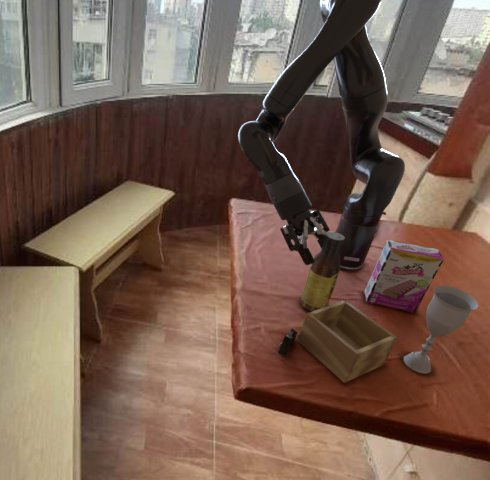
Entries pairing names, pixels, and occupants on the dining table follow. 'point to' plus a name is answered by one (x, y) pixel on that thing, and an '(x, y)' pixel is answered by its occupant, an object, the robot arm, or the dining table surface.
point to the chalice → (441, 322)
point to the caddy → (345, 340)
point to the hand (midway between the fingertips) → (319, 257)
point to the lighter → (287, 342)
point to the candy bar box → (402, 275)
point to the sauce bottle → (323, 273)
